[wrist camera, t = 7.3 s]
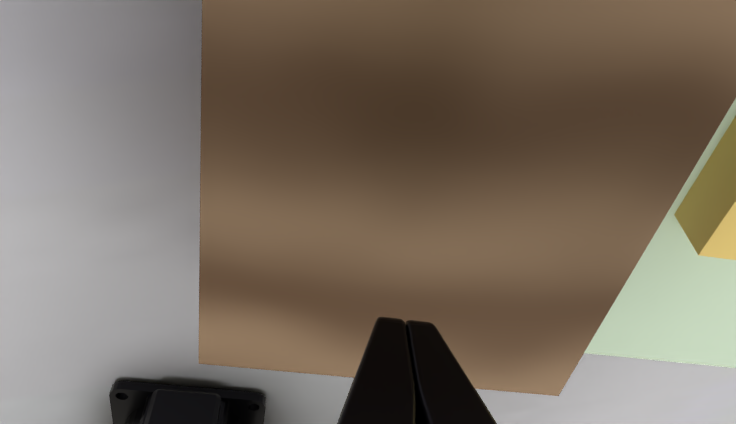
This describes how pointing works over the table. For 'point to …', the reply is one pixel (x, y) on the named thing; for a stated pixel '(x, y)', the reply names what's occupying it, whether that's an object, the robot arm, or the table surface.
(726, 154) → the ochre block
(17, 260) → the table surface
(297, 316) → the walnut deck
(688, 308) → the sage mat
